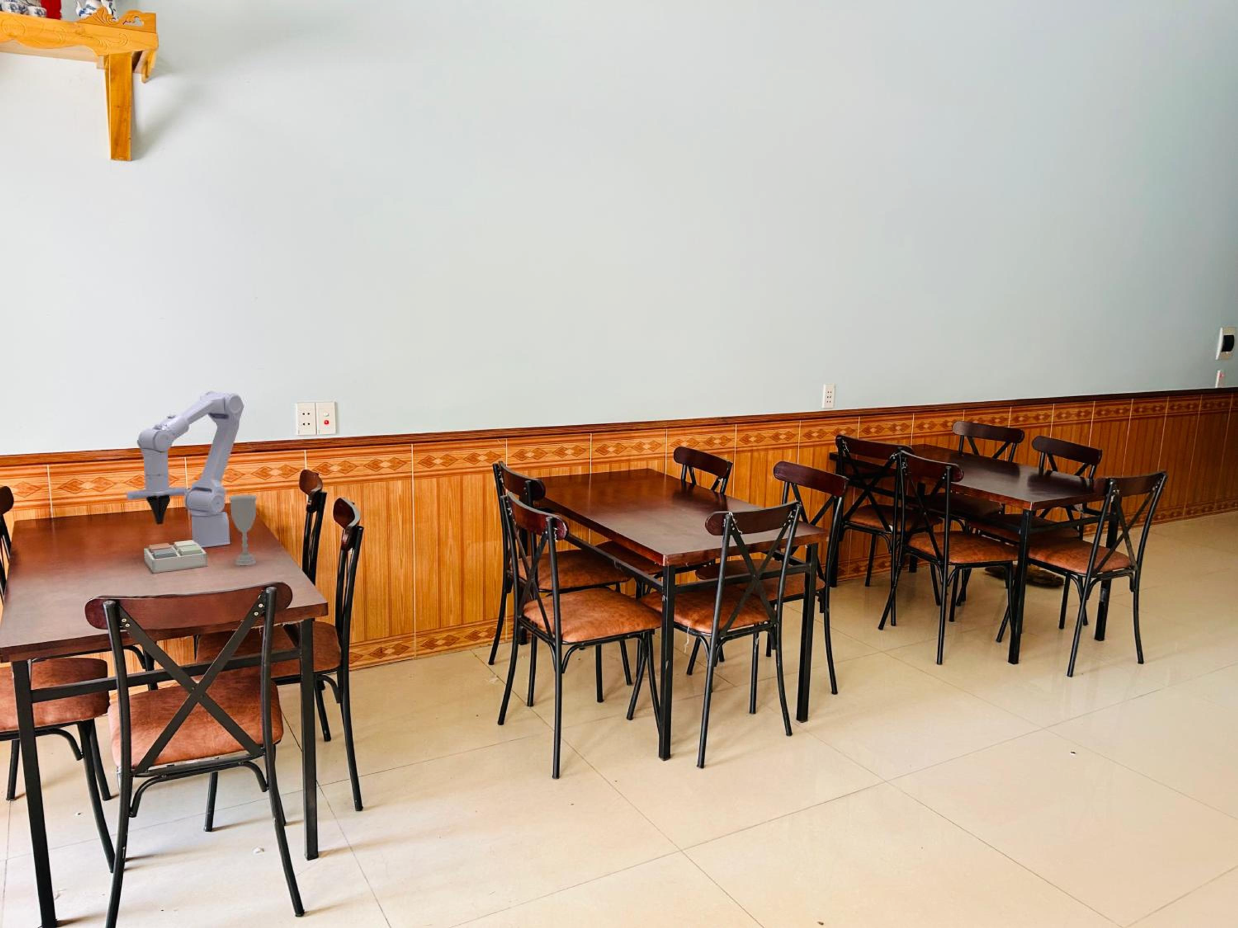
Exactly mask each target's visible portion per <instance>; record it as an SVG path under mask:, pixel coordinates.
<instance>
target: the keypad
mask: <svg viewBox="0 0 1238 928" xmlns="http://www.w3.org/2000/svg"><path fill="white" fill-rule="evenodd" d="M195 543H196V545H198V546H199V544H198V543H197V542H195ZM169 545H170V546H171V548H173V550H174V551H175V552H176V557H169V558H161V559H154V557H153V553H150V552H149V547H145V548H143V553H144V554H143V556H144V562H145V564H146V565H147V567H148V568H149V570H150V571H151V572H153V573H152V574H159V573H160V572H161V573H167V572H175V571H180V570H181V571H182V570H190V569H191V570H192V569H197V568H203V567H208V554H207V552H206V551H205V550H204V549H203V548H201V547H200V546H199V548H200V549H201V554H193V555H185V556H180V554H179V550H176V549H175V548H174V544H169Z"/></svg>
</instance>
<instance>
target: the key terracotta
mask: <svg viewBox="0 0 1238 928" xmlns="http://www.w3.org/2000/svg"><path fill="white" fill-rule="evenodd" d="M170 545H171V544H169V542H164V543H158V544H157V543H154V544H148V548H149V552H150V553H153V551H154V550H162V549H171V546H170Z"/></svg>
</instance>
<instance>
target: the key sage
mask: <svg viewBox="0 0 1238 928" xmlns="http://www.w3.org/2000/svg"><path fill="white" fill-rule="evenodd" d="M179 554H180V556H185V555H193V554H201V549H200V548H199V546H198V545H195V546H187V547H179Z"/></svg>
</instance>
